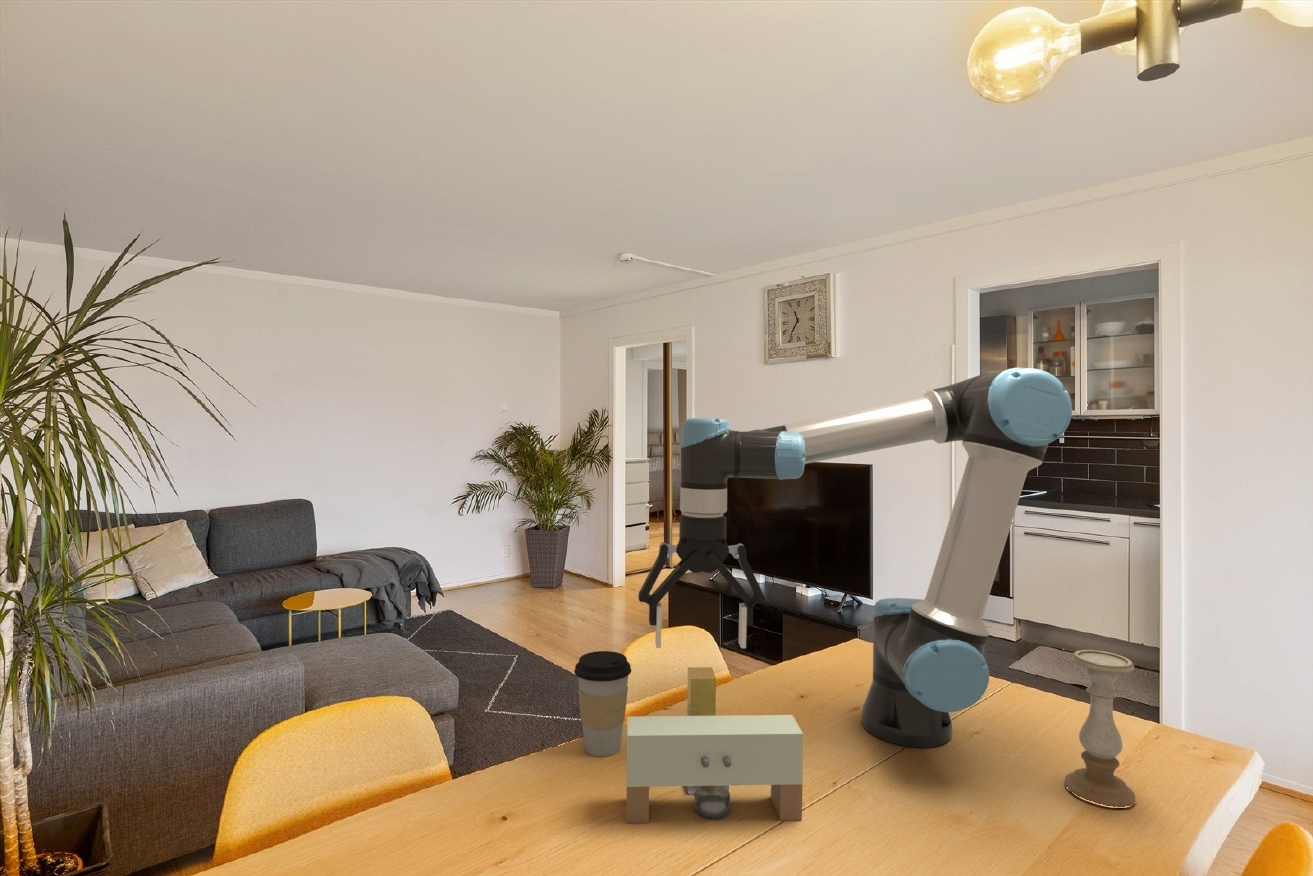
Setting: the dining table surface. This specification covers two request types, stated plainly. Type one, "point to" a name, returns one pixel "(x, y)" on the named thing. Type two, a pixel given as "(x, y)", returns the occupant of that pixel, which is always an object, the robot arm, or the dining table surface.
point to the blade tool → (701, 698)
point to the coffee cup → (602, 700)
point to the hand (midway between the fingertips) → (700, 645)
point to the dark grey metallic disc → (712, 802)
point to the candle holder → (1101, 733)
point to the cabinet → (715, 757)
